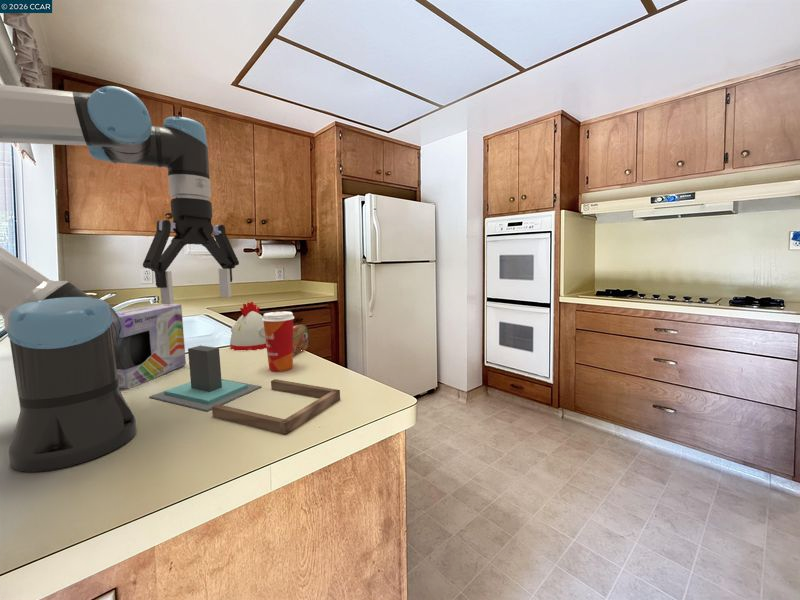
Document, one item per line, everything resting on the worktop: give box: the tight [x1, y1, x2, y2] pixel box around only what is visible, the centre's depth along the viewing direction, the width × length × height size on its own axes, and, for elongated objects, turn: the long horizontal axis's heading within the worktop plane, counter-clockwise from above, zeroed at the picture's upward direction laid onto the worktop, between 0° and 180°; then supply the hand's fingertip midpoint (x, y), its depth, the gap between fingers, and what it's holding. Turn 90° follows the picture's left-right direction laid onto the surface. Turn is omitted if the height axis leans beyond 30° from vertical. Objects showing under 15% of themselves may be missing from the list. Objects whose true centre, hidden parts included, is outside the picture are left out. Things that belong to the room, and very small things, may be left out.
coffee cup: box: [262, 311, 295, 373], centre depth 96 cm, size 8×8×15 cm
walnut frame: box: [211, 378, 341, 435], centre depth 72 cm, size 16×18×2 cm
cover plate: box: [163, 345, 248, 405], centre depth 80 cm, size 10×14×10 cm
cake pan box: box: [115, 303, 187, 390], centre depth 91 cm, size 19×5×18 cm, turn 170°
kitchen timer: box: [229, 301, 267, 351], centre depth 122 cm, size 14×14×15 cm
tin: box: [293, 324, 310, 358], centre depth 112 cm, size 15×3×8 cm, turn 168°
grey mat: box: [149, 378, 262, 412], centre depth 80 cm, size 14×18×1 cm
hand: (199, 300), depth 78 cm, fingers open, 13 cm apart
